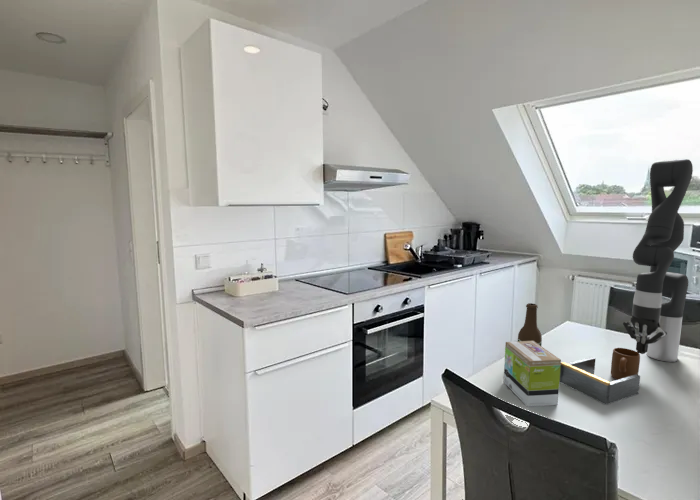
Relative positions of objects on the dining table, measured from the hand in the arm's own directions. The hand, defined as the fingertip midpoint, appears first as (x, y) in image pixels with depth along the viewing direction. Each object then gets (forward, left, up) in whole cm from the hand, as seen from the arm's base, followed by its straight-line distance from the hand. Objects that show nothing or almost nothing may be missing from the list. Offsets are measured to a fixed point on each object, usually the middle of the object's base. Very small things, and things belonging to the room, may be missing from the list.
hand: (641, 352), depth 131 cm
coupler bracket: (+22, 0, -8) cm, 23 cm away
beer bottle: (+31, -19, -8) cm, 38 cm away
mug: (+9, 0, -8) cm, 12 cm away
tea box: (+45, -6, -9) cm, 46 cm away
